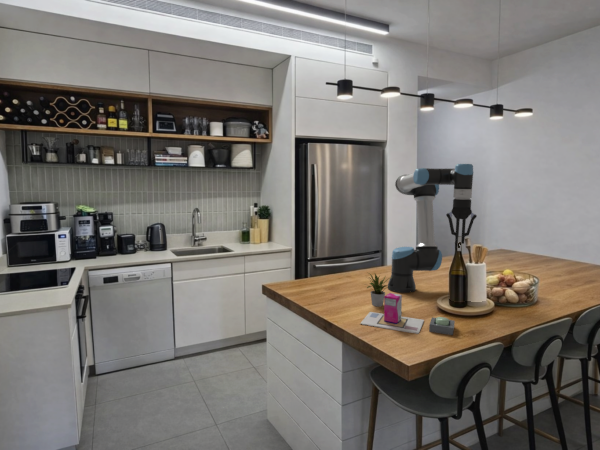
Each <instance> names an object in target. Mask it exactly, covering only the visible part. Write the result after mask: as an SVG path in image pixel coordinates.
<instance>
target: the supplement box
mask: <svg viewBox="0 0 600 450" xmlns="http://www.w3.org/2000/svg"><path fill="white" fill-rule="evenodd" d="M402 297H403V296H402V294H398V293H391V292H389V293H387V294H385V296H384V302H383V305H384V306H383V307H384V308H383V310H384V311H383V312H384V313H383V314H384V322H389V323H393V324H397V323H399V322H400V321H401V316H402V305H403V304H402V303H403V302H402V300H403V298H402Z"/></svg>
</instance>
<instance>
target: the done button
mask: <svg viewBox="0 0 600 450" xmlns="http://www.w3.org/2000/svg"><path fill="white" fill-rule="evenodd" d="M435 318H436V324H439V325H445V326H449V320H450V318H447V317H445V316H444V317H443V316H438V317H435Z"/></svg>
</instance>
